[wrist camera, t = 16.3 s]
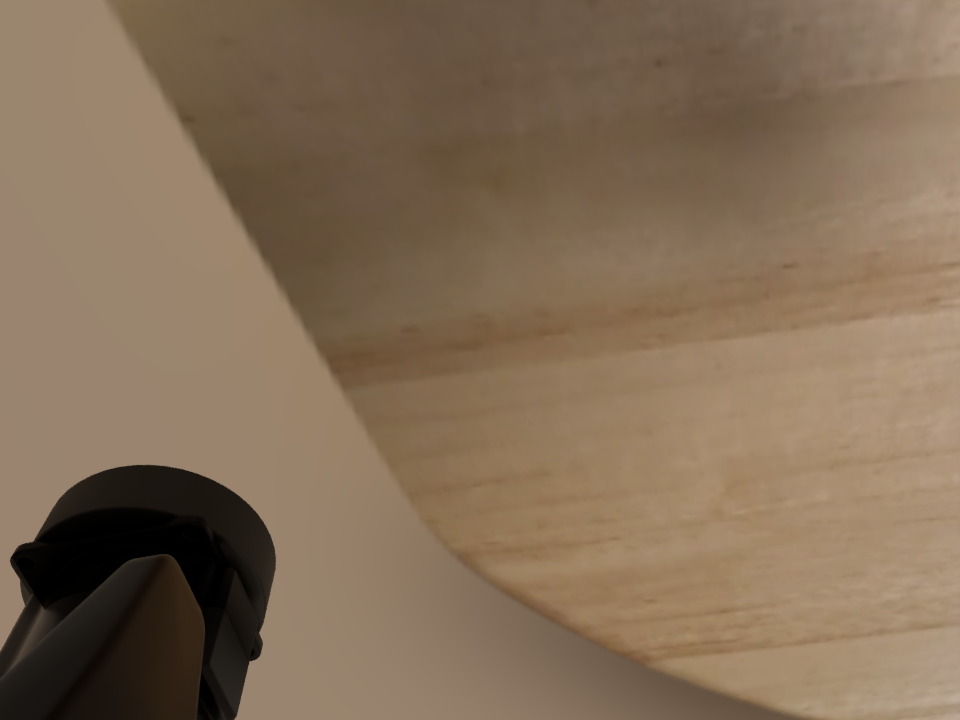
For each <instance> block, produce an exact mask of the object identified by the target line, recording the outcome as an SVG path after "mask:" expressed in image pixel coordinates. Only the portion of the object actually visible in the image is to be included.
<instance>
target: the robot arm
mask: <svg viewBox="0 0 960 720" xmlns="http://www.w3.org/2000/svg"><path fill="white" fill-rule="evenodd" d="M188 529H195V530H197V531H198V532H192V531H189V530H188ZM25 557H26V558H30V559H32V560H29V559H26V558H25ZM10 562H11V565H12V567H13V569H14V571H15V572H16V574H17V575H18V577H19V578H20V580H21V582H22V583H23V585H24V586H25V588H26V590H27V591H28V593H29V594H30V598H29V600H28V602H27V604H26V605H25V607H24V609H23V611H22V613H21V615H20V617H19V619H18V621H17V622H16V624H15V626H14V628H13V630H12V631H11V633H10V635H9V637H8V638H7V640H6V642H5V644H4V646H3V648H2V650H1V651H0V720H234V719H235V717H236V716H237V712H238V708H239V704H240V699H241V695H242V691H243V686H244V682H245V678H246V674H247V669H248V665H249V662H250V661H253V660H256V659H257V658H259V657H260V655H261V651H262V647H263V641H262V639H261V636H260V634H259V632H258V629H257V626H258V618H257V616H256V614H255V611H254V609H253V607H252V605H251V602H250V600H249V598H248V596H247V594H246V591H245V589H244V587H243V585H242V582H241V580H240V578H239V576H238V573H237V571H236V570H235V569H233V568H232V567H231V566H229V565H228V563H227V561H226V559H225V557H224V554H223V552H222V550H221V548H220V546H219V543H218V541H217V539H216V537H215V534H214V532H213V530H212V528H211V526H210V523H209V522H208V521H207V519H205V518H204V517H202V516H199V515H196V514H190V515H183V516H178V517H172V518H166V519H161V520H155V521H149V522H143V523H138V524H132V525H126V526H121V527H115V528H109V529H103V530H98V531H92V532H86V533H80V534H75V535H69V536H63V537H58V538H52V539H46V540H40V541H35V542H29V543H24V544H21V545H19V546H18V547H17V548H16V550H15V552H14V553H13V555H12V556H11V559H10Z"/></svg>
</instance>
